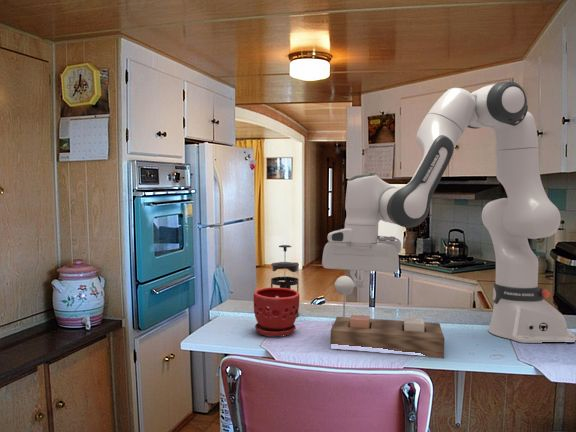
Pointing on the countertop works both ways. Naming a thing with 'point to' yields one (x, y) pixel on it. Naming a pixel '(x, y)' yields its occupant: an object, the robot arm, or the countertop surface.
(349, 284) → the lollipop
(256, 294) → the plant pot
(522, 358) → the countertop surface
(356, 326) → the terracotta key
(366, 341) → the brown flat block
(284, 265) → the french press
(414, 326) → the cream key
